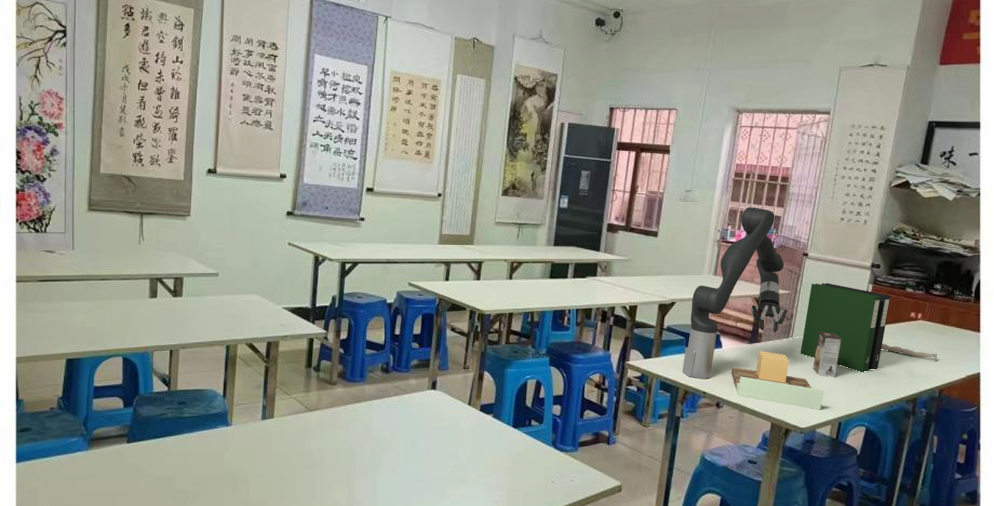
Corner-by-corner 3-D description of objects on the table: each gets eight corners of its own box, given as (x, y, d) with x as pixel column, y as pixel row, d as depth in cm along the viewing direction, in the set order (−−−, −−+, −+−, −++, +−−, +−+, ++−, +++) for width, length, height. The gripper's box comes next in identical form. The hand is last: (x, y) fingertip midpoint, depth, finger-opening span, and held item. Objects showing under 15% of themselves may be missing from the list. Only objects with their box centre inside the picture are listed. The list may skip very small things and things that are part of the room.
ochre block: (756, 371, 249) (759, 350, 248) (781, 375, 247) (784, 354, 246) (758, 378, 241) (762, 356, 240) (785, 382, 238) (788, 361, 237)
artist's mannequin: (937, 357, 320) (866, 345, 337) (938, 349, 319) (868, 337, 336) (934, 367, 297) (859, 353, 314) (936, 357, 297) (860, 344, 314)
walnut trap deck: (731, 373, 253) (732, 366, 252) (804, 385, 246) (805, 378, 246) (737, 394, 227) (738, 387, 226) (819, 408, 220) (820, 401, 220)
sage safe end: (736, 389, 232) (738, 371, 232) (815, 403, 226) (819, 384, 225) (737, 395, 226) (740, 377, 225) (820, 409, 219) (823, 391, 219)
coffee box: (812, 368, 271) (818, 330, 269) (828, 371, 270) (835, 333, 268) (818, 375, 262) (824, 336, 260) (835, 377, 261) (842, 338, 259)
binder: (799, 354, 295) (810, 283, 291) (816, 351, 304) (827, 282, 300) (861, 372, 274) (875, 296, 269) (878, 369, 282) (891, 295, 278)
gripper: (752, 287, 270) (751, 322, 260) (789, 292, 266) (790, 327, 256) (749, 297, 276) (748, 332, 265) (785, 302, 272) (786, 338, 262)
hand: (768, 330), depth 261 cm, fingers open, 4 cm apart
